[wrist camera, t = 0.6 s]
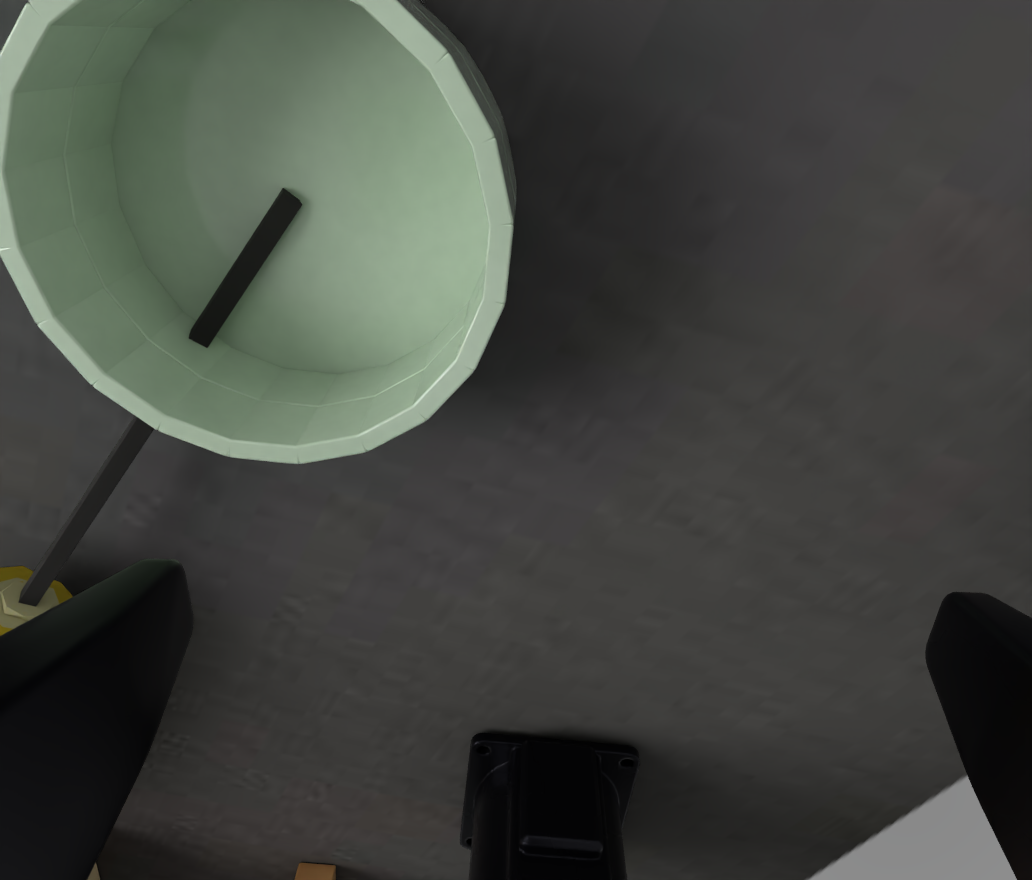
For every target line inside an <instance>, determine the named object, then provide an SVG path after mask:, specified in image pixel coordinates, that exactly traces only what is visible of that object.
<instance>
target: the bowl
mask: <svg viewBox="0 0 1032 880" xmlns="http://www.w3.org/2000/svg"><path fill="white" fill-rule="evenodd" d="M282 188H284V189H286V190H287V191H288V192H290V193H291V194H292V195H294V196H295V197H296V198H298V199H299V200H300V202H301V203H302V206H301V208H300V209H299V211H298V212H297V214H296V215H295V217H294V218H293V220H292V221H291V223H290V224H289V226H288V227H287V229H286V230H285V232H284V233H283V235H282V236H281V238H280V239H279V241H278V242H277V244H276V246H275V247H274V249H273V250H272V252H271V253H270V255H269V256H268V258H267V259H266V261H265V262H264V264H263V265H262V267H261V268H260V270H259V271H258V273H257V274H256V276H255V277H254V279H253V280H252V282H251V283H250V285H249V286H248V288H247V289H246V291H245V292H244V294H243V295H242V297H241V298H240V300H239V301H238V303H237V304H236V306H235V307H234V309H233V310H232V312H231V313H230V315H229V316H228V318H227V319H226V321H225V322H224V324H223V325H222V327H221V328H220V330H219V332H218V333H217V335H216V336H215V338H214V339H213V341H212V342H211V344H210V345H209V347H208V348H206V347H204V346H202V345H200V344H198V343H196V342H194V341H192V340H190V339H189V334H190V331H191V329H192V327H193V325H194V324H195V322H196V321H197V319H198V318H199V316H200V315H201V313H202V312H203V310H204V309H205V307H206V305H207V304H208V302H209V301H210V299H211V298H212V296H213V295H214V293H215V292H216V290H217V289H218V287H219V285H220V284H221V282H222V281H223V279H224V278H225V276H226V275H227V273H228V272H229V270H230V269H231V267H232V265H233V264H234V262H235V261H236V259H237V258H238V256H239V255H240V253H241V252H242V250H243V248H244V247H245V245H246V244H247V242H248V241H249V239H250V238H251V236H252V235H253V233H254V232H255V230H256V228H257V227H258V225H259V224H260V222H261V221H262V219H263V218H264V216H265V215H266V213H267V212H268V210H269V208H270V207H271V205H272V204H273V202H274V201H275V199H276V198H277V196H278V195H279V193H280V192H281V190H282ZM516 196H517V183H516V178H515V173H514V167H513V159H512V154H511V149H510V145H509V140H508V135H507V131H506V128H505V123H504V119H503V118H502V113H501V112H500V110H499V108H498V105H497V103H496V101H495V99H494V97H493V95H492V93H491V91H490V89H489V87H488V84H487V82H486V80H485V78H484V76H483V75H482V73H481V72H480V70H479V69H478V67H477V66H476V64H475V63H474V61H473V59H472V57H471V56H470V54H469V52H468V51H467V50H466V48H465V46H464V45H463V44H462V43H461V42H460V41H459V40H458V39H457V38H456V37H455V36H454V35H453V34H452V32H451V31H450V30H449V29H448V28H447V27H446V26H445V25H444V24H443V23H442V22H441V21H440V20H439V19H438V18H437V17H436V16H435V15H433V14H432V13H431V12H430V11H429V10H428V9H427V8H426V7H425V6H424V5H423V4H421V3H420V2H419V1H418V0H29V2H27V3H26V4H25V6H24V8H23V10H22V12H21V14H20V16H19V18H18V19H17V21H16V23H15V25H14V27H13V29H12V31H11V33H10V35H9V37H8V39H7V41H6V43H5V45H4V47H3V49H2V51H1V52H0V257H1V258H2V260H3V262H4V264H5V266H6V268H7V270H8V272H9V274H10V276H11V277H12V279H13V281H14V283H15V285H16V287H17V289H18V291H19V293H20V295H21V296H22V298H23V300H24V302H25V304H26V306H27V308H28V310H29V312H30V314H31V315H32V317H33V319H34V321H35V322H36V323H38V327H39V328H40V329H41V330H42V331H43V332H44V334H45V335H46V336H47V337H48V338H49V339H50V340H51V341H52V342H53V344H54V345H55V346H56V347H57V348H58V349H59V350H60V351H61V352H62V354H63V355H64V356H65V357H66V358H67V359H68V360H69V361H70V362H71V364H72V365H73V366H74V367H75V368H76V369H77V370H78V371H79V372H80V374H81V375H82V376H83V377H84V378H85V379H86V380H87V381H88V382H89V384H91V385H93V387H94V388H95V389H97V390H98V391H100V392H101V393H103V394H104V395H106V396H107V397H109V398H110V399H111V400H113V401H114V402H116V403H117V404H119V405H120V406H122V407H123V408H125V409H126V410H128V411H129V412H131V413H132V414H133V415H135V416H136V417H138V418H139V419H141V420H142V421H144V422H145V423H147V424H148V425H150V426H151V427H153V428H154V429H156V430H158V429H159V431H160V432H162V433H165V434H167V435H170V436H173V437H175V438H178V439H181V440H183V441H186V442H189V443H191V444H194V445H197V446H199V447H202V448H205V449H207V450H210V451H213V452H216V453H218V454H221V455H224V456H229V457H231V458H241V459H251V460H261V461H271V462H281V463H291V464H299V463H300V464H304V463H310V462H315V461H321V460H326V459H332V458H338V457H343V456H349V455H354V454H360V453H365V452H367V451H370V450H372V449H374V448H376V447H378V446H380V445H382V444H384V443H386V442H388V441H389V440H391V439H393V438H395V437H397V436H399V435H401V434H403V433H405V432H407V431H409V430H411V429H412V428H414V427H416V426H418V425H420V424H422V423H424V422H425V421H426V420H428V419H429V418H430V417H431V416H432V415H433V414H434V413H435V412H436V411H437V410H438V409H439V408H440V407H441V406H442V405H443V404H444V403H445V402H446V401H447V400H448V399H449V398H450V396H451V395H452V394H453V393H454V392H455V391H456V390H457V389H458V388H459V387H460V386H461V385H462V384H463V383H464V382H465V381H466V380H467V379H468V378H469V377H470V376H471V375H472V373H473V372H474V370H475V369H476V368H477V366H478V363H479V361H480V359H481V357H482V355H483V353H484V350H485V348H486V346H487V344H488V342H489V339H490V337H491V335H492V333H493V331H494V329H495V326H496V324H497V322H498V320H499V318H500V315H501V313H502V311H503V309H504V307H505V302H506V296H507V286H508V277H509V267H510V258H511V248H512V239H513V229H514V218H515V207H516Z"/></svg>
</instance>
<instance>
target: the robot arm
mask: <svg viewBox="0 0 1032 880" xmlns="http://www.w3.org/2000/svg"><path fill="white" fill-rule="evenodd" d="M193 623H194V618H193V610H192V605H191V600H190V595H189V590H188V585H187V580H186V574H185V571H184V568H183V566H182V564H181V563H180V562H178V561H177V560H169V559H143V560H141V561H138V562H137V563H135V564H133V565H131V566H129V567H127V568H125V569H124V570H122V571H120V572H118V573H116V574H114V575H112V576H111V577H109V578H107V579H105V580H103V581H101V582H99V583H98V584H96V585H94V586H92V587H90V588H88V589H86V590H85V591H83V592H81V593H79V594H77V595H75V596H73V597H72V598H70V599H68V600H66V601H64V602H62V603H60V604H59V605H57V606H55V607H53V608H51V609H49V610H47V611H45V612H44V613H42V614H40V615H38V616H36V617H34V618H32V619H31V620H29V621H27V622H25V623H23V624H21V625H19V626H18V627H16V628H14V629H12V630H10V631H8V632H6V633H5V634H3V635H1V636H0V880H87V879H88V877H89V875H90V873H91V871H92V869H93V867H94V865H95V863H96V861H97V859H98V857H99V855H100V853H101V851H102V849H103V847H104V845H105V843H106V840H107V838H108V836H109V834H110V832H111V830H112V828H113V826H114V824H115V822H116V820H117V818H118V816H119V814H120V812H121V810H122V808H123V806H124V804H125V802H126V799H127V797H128V795H129V793H130V791H131V789H132V787H133V785H134V783H135V781H136V779H137V777H138V775H139V773H140V771H141V768H142V766H143V764H144V762H145V760H146V758H147V755H148V753H149V751H150V748H151V746H152V743H153V741H154V738H155V735H156V733H157V730H158V727H159V724H160V722H161V719H162V716H163V713H164V711H165V708H166V705H167V702H168V699H169V697H170V694H171V691H172V688H173V685H174V683H175V680H176V677H177V674H178V671H179V669H180V666H181V663H182V660H183V658H184V655H185V652H186V649H187V646H188V644H189V641H190V638H191V635H192V630H193ZM925 653H926V663H927V667H928V670H929V673H930V675H931V678H932V681H933V684H934V686H935V689H936V692H937V694H938V697H939V700H940V703H941V705H942V708H943V711H944V713H945V716H946V719H947V722H948V724H949V727H950V730H951V732H952V735H953V738H954V741H955V743H956V746H957V749H958V751H959V754H960V757H961V760H962V762H963V765H964V768H965V770H966V772H967V775H968V777H969V780H970V782H971V785H972V787H973V789H974V792H975V794H976V796H977V798H978V800H979V802H980V805H981V807H982V809H983V811H984V813H985V815H986V817H987V819H988V821H989V823H990V825H991V827H992V829H993V831H994V833H995V835H996V838H997V840H998V842H999V844H1000V845H1001V848H1002V850H1003V852H1004V854H1005V856H1006V858H1007V860H1008V862H1009V864H1010V866H1011V868H1012V870H1013V872H1014V874H1015V876H1016V878H1017V880H1032V618H1030V617H1029V616H1027V615H1025V614H1023V613H1021V612H1019V611H1018V610H1016V609H1014V608H1012V607H1010V606H1009V605H1007V604H1005V603H1003V602H1001V601H1000V600H998V599H996V598H994V597H992V596H990V595H988V594H984V593H970V592H952V593H950V594H948V595H947V596H946V597H945V598H944V599H943V601H942V603H941V606H940V609H939V611H938V614H937V617H936V620H935V622H934V625H933V628H932V631H931V633H930V636H929V639H928V642H927V645H926V652H925ZM483 746H485V747H483ZM639 766H640V759H639V753H638V751H637V749H635V748H634V747H631V746H625V745H614V744H603V743H592V742H581V741H570V740H559V739H547V738H536V737H525V736H514V735H503V734H492V733H479V734H476V735H475V736H474V737H473V738H472V740H471V746H470V755H469V764H468V773H467V781H466V790H465V799H464V807H463V816H462V825H461V834H460V844H461V845H462V846H463V847H464V848H466V849H470V850H471V859H470V873H469V880H627V874H626V865H625V856H624V847H623V839H622V829H623V825H624V821H625V817H626V814H627V810H628V806H629V803H630V799H631V795H632V792H633V788H634V784H635V781H636V777H637V773H638V769H639Z"/></svg>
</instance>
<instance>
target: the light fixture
mask: <svg viewBox="0 0 1032 880" xmlns="http://www.w3.org/2000/svg"><path fill="white" fill-rule="evenodd" d="M301 206H302V203H301V202H300V200H299V199H298V198H296V197H295V196H294V195H292V194H291V193H290V192H288V191H287V190H286V189H284V188H282V190H281V192H280V193H279V195H278V196H277V198H276V199H275V201H274V202H273V204H272V205H271V207H270V208H269V210H268V212H267V213H266V215H265V216H264V218H263V219H262V221H261V222H260V224H259V225H258V227H257V228H256V230H255V232H254V233H253V235H252V236H251V238H250V239H249V241H248V242H247V244H246V245H245V247H244V248H243V250H242V252H241V253H240V255H239V256H238V258H237V259H236V261H235V262H234V264H233V265H232V267H231V269H230V270H229V272H228V273H227V275H226V276H225V278H224V279H223V281H222V282H221V284H220V285H219V287H218V289H217V290H216V292H215V293H214V295H213V296H212V298H211V299H210V301H209V302H208V304H207V305H206V307H205V309H204V310H203V312H202V313H201V315H200V316H199V318H198V319H197V321H196V322H195V324H194V325H193V327H192V329H191V331H190V334H189V339H190V340H192V341H194V342H196V343H198V344H200V345H202V346H204V347H206V348H208V347H209V345H210V344H211V342H212V341H213V339H214V338H215V336H216V335H217V333H218V332H219V330H220V328H221V327H222V325H223V324H224V322H225V321H226V319H227V318H228V316H229V315H230V313H231V312H232V310H233V309H234V307H235V306H236V304H237V303H238V301H239V300H240V298H241V297H242V295H243V294H244V292H245V291H246V289H247V288H248V286H249V285H250V283H251V282H252V280H253V279H254V277H255V276H256V274H257V273H258V271H259V270H260V268H261V267H262V265H263V264H264V262H265V261H266V259H267V258H268V256H269V255H270V253H271V252H272V250H273V249H274V247H275V246H276V244H277V242H278V241H279V239H280V238H281V236H282V235H283V233H284V232H285V230H286V229H287V227H288V226H289V224H290V223H291V221H292V220H293V218H294V217H295V215H296V214H297V212H298V211H299V209H300V208H301ZM153 430H154V428H153V427H151V426H150V425H148V424H147V423H145V422H144V421H142V420H141V419H139V418H138V417H136V416H134V418H133V419H132V421H131V423H130V424H129V426H128V427H127V429H126V430H125V432H124V433H123V435H122V436H121V438H120V439H119V441H118V443H117V444H116V446H115V447H114V449H113V450H112V452H111V453H110V455H109V456H108V458H107V459H106V461H105V463H104V464H103V466H102V467H101V469H100V470H99V472H98V473H97V475H96V476H95V478H94V479H93V481H92V483H91V484H90V486H89V487H88V489H87V490H86V492H85V493H84V495H83V496H82V498H81V500H80V501H79V503H78V504H77V506H76V507H75V509H74V510H73V512H72V513H71V515H70V516H69V518H68V520H67V521H66V523H65V524H64V526H63V527H62V529H61V530H60V532H59V533H58V535H57V536H56V538H55V540H54V541H53V543H52V544H51V546H50V547H49V549H48V550H47V552H46V553H45V555H44V556H43V558H42V560H41V561H40V563H39V564H38V566H37V567H36V569H35V570H34V571H32V570H30V569H28V568H26V567H24V566H16V567H3V568H0V636H1V635H3V634H5V633H6V632H8V631H10V630H12V629H14V628H16V627H18V626H19V625H21V624H23V623H25V622H27V621H29V620H31V619H32V618H34V617H36V616H38V615H40V614H42V613H44V612H45V611H47V610H49V609H51V608H53V607H55V606H57V605H59V604H60V603H62V602H64V601H66V600H68V599H70V598H72V597H73V596H72V595H71V593H70V592H69V591H68V590H67V589H66V588H65V587H64V586H63V584H62V583H60V582H58V581H56V580H54V579H55V577H56V576H57V574H58V573H59V571H60V570H61V568H62V567H63V565H64V564H65V562H66V561H67V559H68V558H69V556H70V555H71V553H72V552H73V550H74V549H75V547H76V546H77V544H78V543H79V541H80V540H81V538H82V537H83V535H84V534H85V532H86V531H87V529H88V528H89V526H90V525H91V523H92V522H93V520H94V519H95V517H96V516H97V514H98V513H99V511H100V510H101V508H102V507H103V505H104V504H105V502H106V501H107V499H108V497H109V496H110V494H111V493H112V491H113V490H114V488H115V487H116V485H117V484H118V482H119V481H120V479H121V478H122V476H123V475H124V473H125V472H126V470H127V469H128V467H129V466H130V464H131V463H132V461H133V460H134V458H135V457H136V455H137V454H138V452H139V451H140V449H141V448H142V446H143V445H144V443H145V442H146V440H147V439H148V437H149V436H150V434H151V433H152V431H153Z"/></svg>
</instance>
